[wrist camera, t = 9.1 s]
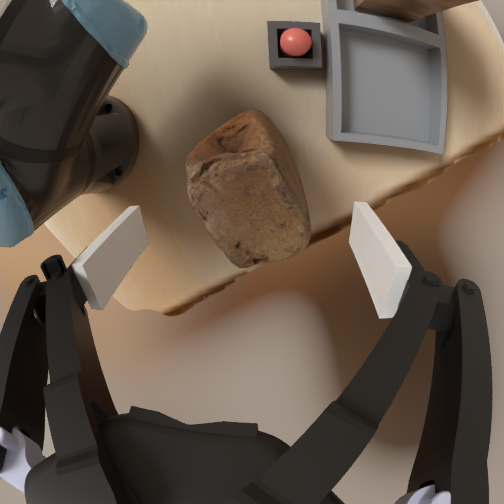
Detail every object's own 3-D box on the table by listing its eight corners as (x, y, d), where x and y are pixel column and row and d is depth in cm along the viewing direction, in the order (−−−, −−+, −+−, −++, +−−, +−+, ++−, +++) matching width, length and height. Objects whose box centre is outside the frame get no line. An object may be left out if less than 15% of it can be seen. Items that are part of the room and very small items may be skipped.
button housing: (269, 68, 28) (269, 65, 25) (267, 27, 24) (267, 21, 22) (318, 69, 27) (322, 67, 25) (315, 28, 24) (319, 23, 21)
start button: (280, 58, 26) (281, 53, 23) (278, 34, 24) (279, 27, 21) (308, 59, 26) (312, 54, 23) (306, 35, 24) (310, 28, 21)
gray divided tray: (326, 135, 32) (332, 140, 28) (312, -60, 15) (315, -72, 11) (428, 147, 31) (442, 154, 27) (416, -36, 13) (427, -43, 10)
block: (300, 174, 35) (326, 255, 18) (250, 195, 37) (231, 289, 20) (265, 101, 30) (257, 104, 13) (213, 127, 32) (149, 164, 16)
